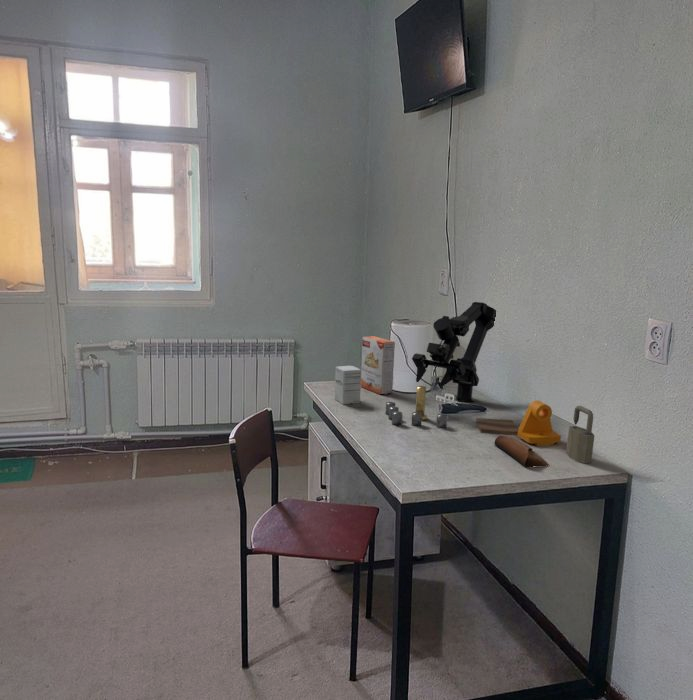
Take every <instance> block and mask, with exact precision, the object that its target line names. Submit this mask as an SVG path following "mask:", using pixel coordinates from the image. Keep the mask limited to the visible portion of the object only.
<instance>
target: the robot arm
mask: <svg viewBox="0 0 693 700" xmlns="http://www.w3.org/2000/svg"><path fill="white" fill-rule="evenodd" d="M496 311H497V310H496V309H495V308H494V307H491V306H489V305H488V304H487V303H485V302H478V301H474V302H472V303H471V305H470V306H469V307H468V308H467V309H466V310H465V311H464V312H462V313H461V314H460V315H458V316H453V317H451V318H450V317H449V316H448V315H443V316H442V317H441V318H439V319H437V320H435V321H434V322H433V324H432V325H433V329H434V331H435V334H436V335H437V338H438V339H439V340H441V341H440V342H439V343H435V342H428V345H427V349H426V352H427V353H429V357H430V358H431V359H429V358H427V355H425V354H422V353H414V354H413V356H412V358H411V359H412V362H413V364H414V365H415V368H416V376H415V377H416V378H415V381H416V383H419V382H420V381H421V379H422V378H423V376H424V375H425V373H426V372H427V368H428V367H429V366H430V367H436V368H440V369H441V368H442V369H446V371H445V372H444V375H443V376H442V379H441V381H440V384H439V387H440V388H443V387H444V386H445V385H447V384H448V383H449V382H452V384H457V389H456V394H455V395H454V398H455V397H456V398H455V400H458V401H457V402H469V401H470V402H471V403H473V402H474V398H473V387H477V386H478V385H479V382H480V378H479V376H478V373H477V370H478V369H477V366H476V365H477V364H476V361H477V359H478V356H479V354H480V351H481V348H482V346H483V343H484V340H485V339H486V335H487V333H488V332H489V330H491V329H492V328H494V327H495V325H494V321H495V317H496ZM472 323H474V324H475V327H474V329H473V332H472V335H471V336H470V339H469V341H468V344H467V346H466V349H465V351H464V354H463V356H462V357H458V358H457V359H454V355H453V354H454V352H455V351H456V349H457V347H460V346H461V344H460V340H459V337H465V336H466V335H467V334H468V332H469V331H470V328H469V327H470V326H471V325H472Z"/></svg>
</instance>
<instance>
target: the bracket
mask: <svg viewBox="0 0 693 700" xmlns="http://www.w3.org/2000/svg"><path fill="white" fill-rule="evenodd" d="M552 413H553V411H552V408H551V406H550V405H548V404H546V403H544V402H542V401H540V400H534V401H532V402H530V403H529V405H528V407H527V409H526V411H525V414H524V416H523V418H522V420H521V422H520V425H519V427H518V428H517V429H518V435H517V436H518V437H519V438H521V439H522V440H523V441H524V442H526V443H528V444H534V445H535V446H537V447H539V446H554V445H555V443H560V442H561V437H562V435H560V434H559V433H557V432H555V431H554V430H553V426H552V422H551V417H552Z"/></svg>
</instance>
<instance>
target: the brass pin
mask: <svg viewBox="0 0 693 700" xmlns="http://www.w3.org/2000/svg"><path fill="white" fill-rule="evenodd" d="M426 391H427V387H426V386H424V385H417V386H416V396H415V397H416V399H415V400H416V402H415V412H420V413H422V422H423V421H427V419H428V415H426V414H425V411H426V409H425V408H426V395H427V394H426Z"/></svg>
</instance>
